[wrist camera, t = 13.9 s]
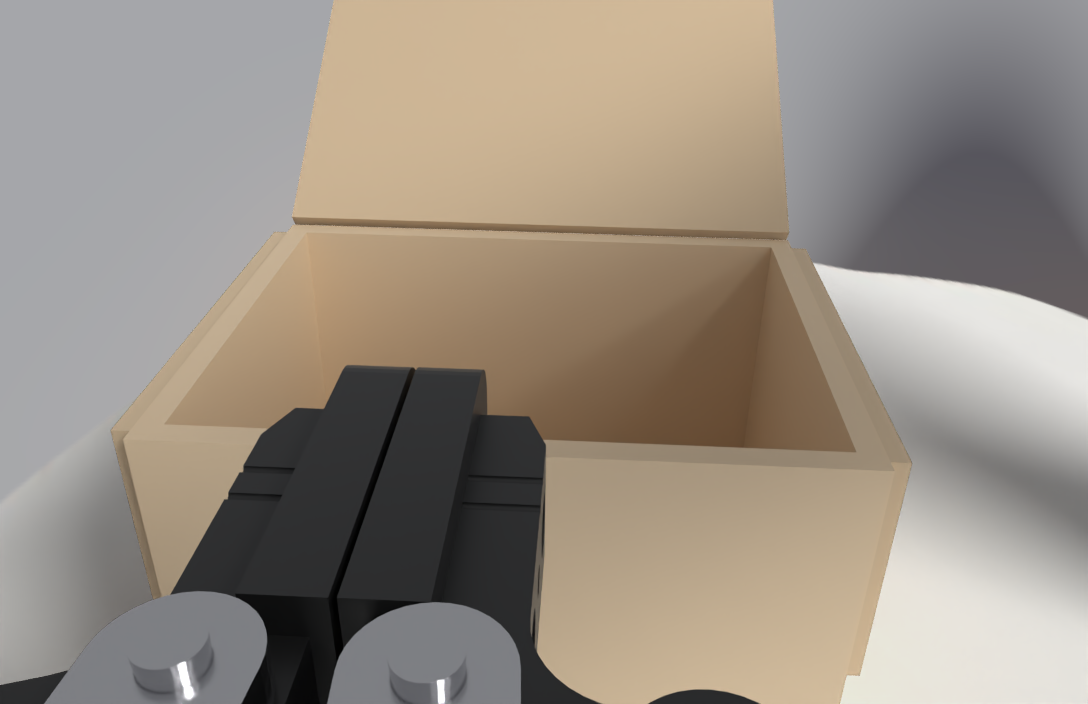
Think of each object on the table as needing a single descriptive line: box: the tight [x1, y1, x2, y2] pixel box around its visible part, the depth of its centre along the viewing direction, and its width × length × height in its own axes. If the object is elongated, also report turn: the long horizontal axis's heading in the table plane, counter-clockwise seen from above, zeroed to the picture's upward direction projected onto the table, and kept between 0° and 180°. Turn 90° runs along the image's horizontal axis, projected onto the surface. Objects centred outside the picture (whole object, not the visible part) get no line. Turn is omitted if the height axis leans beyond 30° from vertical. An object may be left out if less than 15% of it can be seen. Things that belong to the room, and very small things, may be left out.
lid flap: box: [292, 0, 789, 240], centre depth 37 cm, size 18×14×1 cm
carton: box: [111, 225, 912, 704], centre depth 31 cm, size 19×14×12 cm
